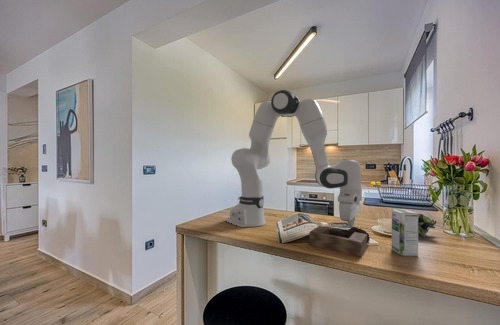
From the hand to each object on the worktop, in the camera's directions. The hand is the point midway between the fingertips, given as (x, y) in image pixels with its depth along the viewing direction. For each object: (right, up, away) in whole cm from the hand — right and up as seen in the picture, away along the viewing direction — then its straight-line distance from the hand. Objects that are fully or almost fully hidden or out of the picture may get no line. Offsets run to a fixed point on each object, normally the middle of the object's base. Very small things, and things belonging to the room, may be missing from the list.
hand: (351, 226), depth 96 cm
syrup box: (+9, -3, -21) cm, 23 cm away
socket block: (-12, -3, -15) cm, 19 cm away
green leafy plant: (+27, -3, -5) cm, 27 cm away
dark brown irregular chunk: (-6, -3, -8) cm, 10 cm away
